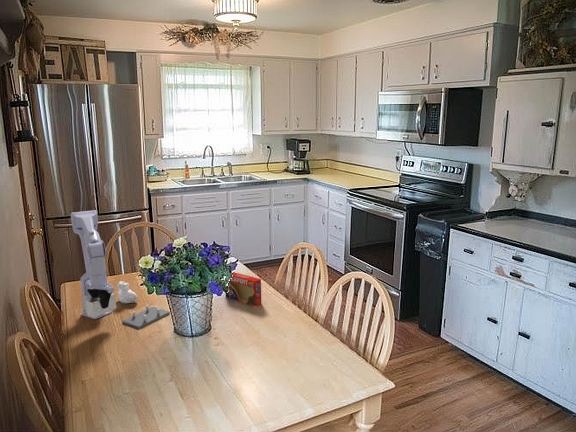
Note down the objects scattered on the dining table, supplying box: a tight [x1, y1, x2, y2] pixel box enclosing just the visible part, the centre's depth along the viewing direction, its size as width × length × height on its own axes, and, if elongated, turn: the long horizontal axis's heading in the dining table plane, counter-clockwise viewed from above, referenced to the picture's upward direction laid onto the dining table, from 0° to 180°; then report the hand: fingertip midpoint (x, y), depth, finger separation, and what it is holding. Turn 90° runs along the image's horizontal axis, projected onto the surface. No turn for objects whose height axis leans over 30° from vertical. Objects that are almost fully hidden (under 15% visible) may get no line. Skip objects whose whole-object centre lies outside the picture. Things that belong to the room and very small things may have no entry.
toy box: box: [225, 271, 262, 308], centre depth 200 cm, size 18×4×12 cm, turn 54°
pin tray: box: [121, 304, 171, 330], centre depth 184 cm, size 10×16×4 cm, turn 148°
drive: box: [86, 292, 117, 318], centre depth 173 cm, size 4×10×6 cm, turn 148°
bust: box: [116, 280, 139, 305], centre depth 199 cm, size 12×8×11 cm
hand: (101, 306), depth 173 cm, fingers closed on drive, 4 cm apart
